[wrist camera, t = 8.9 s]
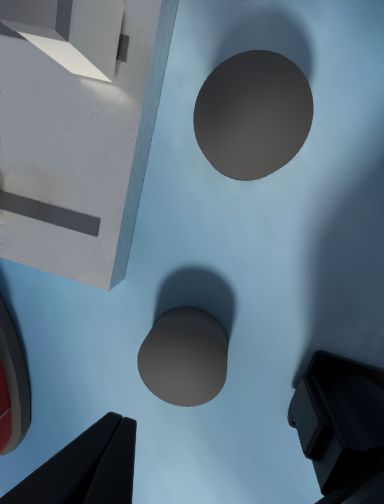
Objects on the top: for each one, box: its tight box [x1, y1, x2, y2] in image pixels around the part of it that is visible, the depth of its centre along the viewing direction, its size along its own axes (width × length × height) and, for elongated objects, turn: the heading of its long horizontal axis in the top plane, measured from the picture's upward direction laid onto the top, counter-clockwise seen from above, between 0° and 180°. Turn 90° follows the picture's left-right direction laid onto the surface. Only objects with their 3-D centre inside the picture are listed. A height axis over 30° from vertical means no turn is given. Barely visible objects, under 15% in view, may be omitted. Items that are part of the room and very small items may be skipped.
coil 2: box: [193, 50, 313, 181], centre depth 15 cm, size 6×6×3 cm
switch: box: [0, 0, 124, 82], centre depth 12 cm, size 2×4×5 cm
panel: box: [0, 0, 179, 291], centre depth 17 cm, size 14×18×3 cm
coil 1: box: [137, 306, 228, 407], centre depth 19 cm, size 6×6×3 cm
